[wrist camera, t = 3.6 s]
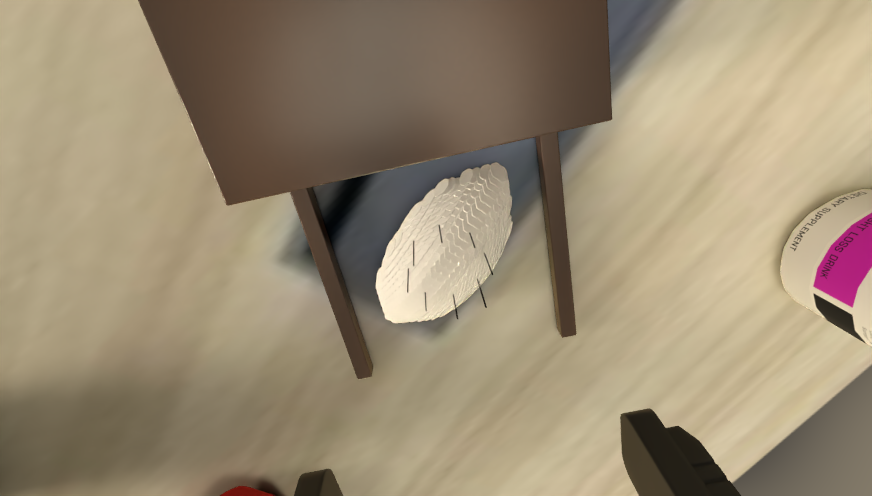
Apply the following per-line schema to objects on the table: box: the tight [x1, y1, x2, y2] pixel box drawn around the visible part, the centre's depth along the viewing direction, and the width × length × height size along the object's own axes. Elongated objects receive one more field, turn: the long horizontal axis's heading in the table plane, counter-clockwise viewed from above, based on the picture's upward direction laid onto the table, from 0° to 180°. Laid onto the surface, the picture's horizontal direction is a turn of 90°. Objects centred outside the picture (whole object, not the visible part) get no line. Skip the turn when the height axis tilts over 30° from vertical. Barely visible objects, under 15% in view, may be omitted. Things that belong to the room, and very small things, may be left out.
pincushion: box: [376, 162, 512, 323], centre depth 23 cm, size 12×6×6 cm, turn 146°
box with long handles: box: [138, 0, 612, 379], centre depth 16 cm, size 15×32×14 cm, turn 12°
